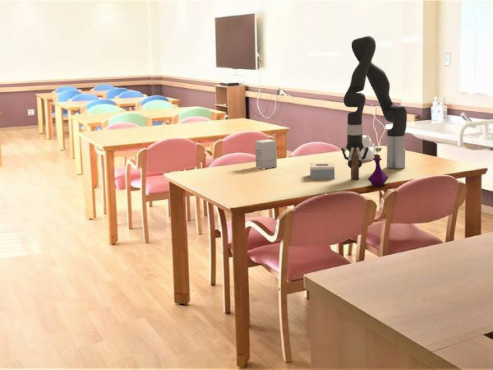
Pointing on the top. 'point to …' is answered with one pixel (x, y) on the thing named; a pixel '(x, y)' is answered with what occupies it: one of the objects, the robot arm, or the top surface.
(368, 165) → the top surface
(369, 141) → the cat figurine
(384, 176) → the perfume bottle
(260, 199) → the top surface
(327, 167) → the grey box cream lid
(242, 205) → the top surface
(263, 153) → the supplement box
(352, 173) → the walnut peg
